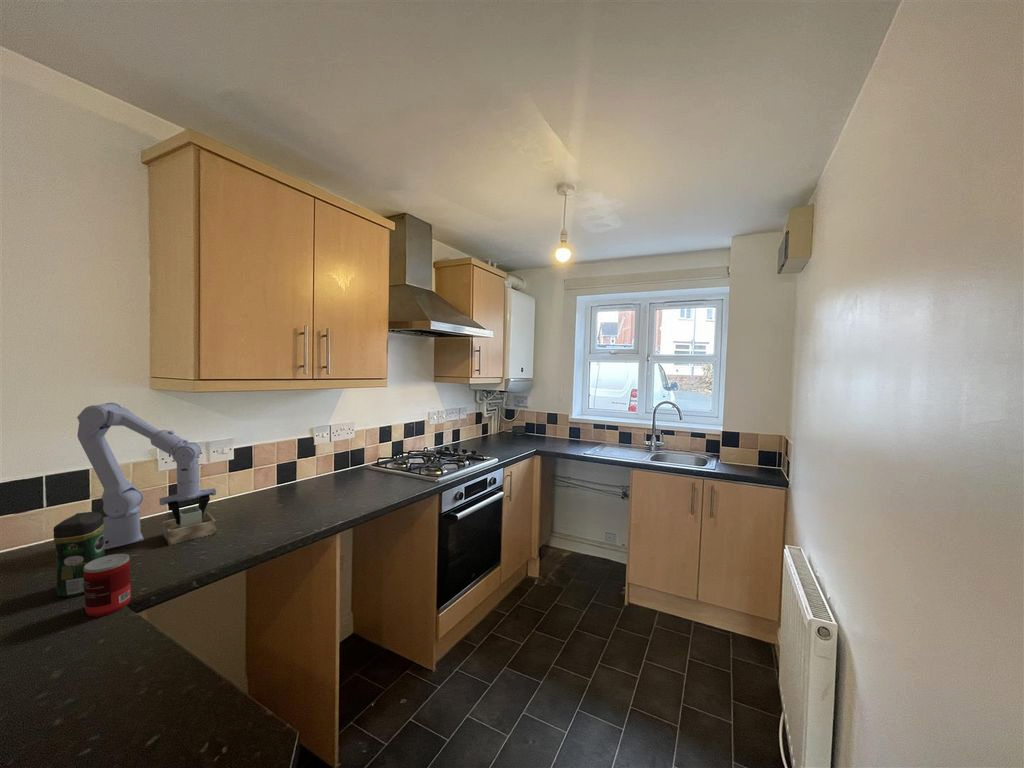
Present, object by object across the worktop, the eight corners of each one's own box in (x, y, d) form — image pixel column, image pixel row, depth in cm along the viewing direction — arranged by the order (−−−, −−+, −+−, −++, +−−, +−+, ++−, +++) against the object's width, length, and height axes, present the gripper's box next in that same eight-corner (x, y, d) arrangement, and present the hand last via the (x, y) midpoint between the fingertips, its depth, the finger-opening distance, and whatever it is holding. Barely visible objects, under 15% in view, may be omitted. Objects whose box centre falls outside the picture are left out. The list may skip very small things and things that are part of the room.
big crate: (169, 545, 128) (168, 531, 127) (163, 534, 135) (162, 521, 135) (216, 533, 137) (216, 520, 136) (208, 524, 144) (208, 511, 144)
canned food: (130, 593, 102) (128, 550, 101) (131, 607, 96) (130, 561, 95) (86, 606, 96) (83, 560, 96) (84, 622, 91) (82, 573, 90)
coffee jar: (71, 581, 107) (68, 511, 106) (111, 575, 110) (108, 507, 109) (49, 601, 98) (45, 525, 97) (93, 593, 101) (90, 520, 100)
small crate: (181, 530, 131) (180, 515, 131) (177, 524, 136) (176, 509, 136) (202, 526, 135) (201, 511, 135) (197, 520, 140) (197, 505, 140)
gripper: (161, 488, 127) (162, 531, 128) (217, 478, 137) (219, 518, 138) (157, 483, 132) (159, 524, 132) (212, 474, 142) (213, 512, 143)
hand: (189, 521), depth 136 cm, fingers closed on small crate, 5 cm apart
